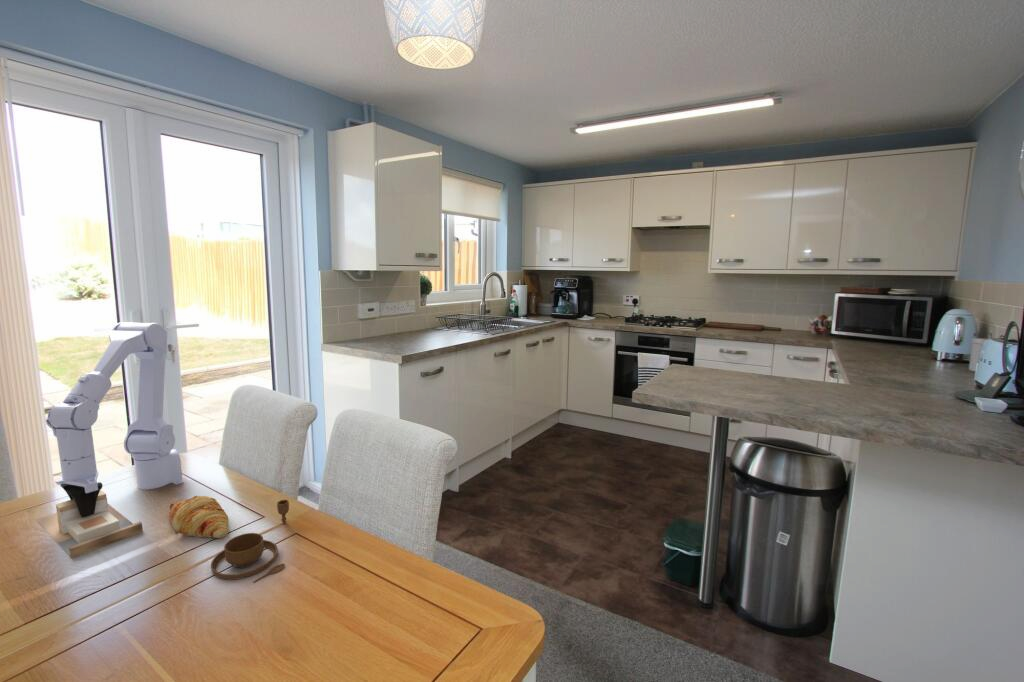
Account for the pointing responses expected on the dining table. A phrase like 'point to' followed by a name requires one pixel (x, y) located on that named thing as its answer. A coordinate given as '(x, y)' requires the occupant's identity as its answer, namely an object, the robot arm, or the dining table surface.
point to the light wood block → (70, 513)
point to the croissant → (199, 517)
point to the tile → (93, 527)
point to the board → (81, 548)
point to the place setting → (249, 551)
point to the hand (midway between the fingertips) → (85, 513)
